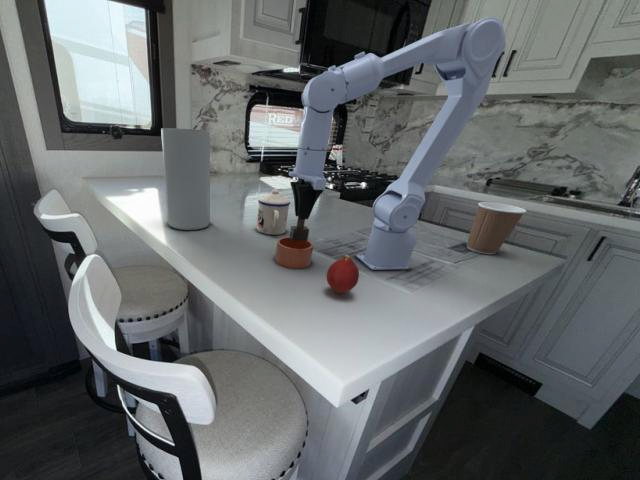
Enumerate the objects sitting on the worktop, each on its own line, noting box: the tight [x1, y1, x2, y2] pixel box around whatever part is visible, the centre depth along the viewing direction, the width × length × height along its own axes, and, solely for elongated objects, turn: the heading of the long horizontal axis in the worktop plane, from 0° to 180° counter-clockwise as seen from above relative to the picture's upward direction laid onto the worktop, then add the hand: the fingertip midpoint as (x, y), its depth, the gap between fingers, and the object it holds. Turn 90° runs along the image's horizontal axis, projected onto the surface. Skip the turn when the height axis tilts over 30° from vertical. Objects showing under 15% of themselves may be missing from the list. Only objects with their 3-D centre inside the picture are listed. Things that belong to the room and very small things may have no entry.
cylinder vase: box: [160, 127, 211, 231], centre depth 86 cm, size 12×12×25 cm
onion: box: [326, 254, 360, 295], centre depth 58 cm, size 6×6×8 cm
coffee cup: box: [466, 201, 527, 255], centre depth 83 cm, size 10×10×12 cm
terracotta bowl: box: [274, 236, 314, 269], centre depth 71 cm, size 8×8×4 cm
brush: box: [289, 217, 310, 241], centre depth 68 cm, size 4×2×8 cm, turn 99°
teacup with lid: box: [256, 188, 291, 236], centre depth 87 cm, size 12×9×12 cm
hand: (301, 217), depth 67 cm, fingers closed on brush, 1 cm apart
